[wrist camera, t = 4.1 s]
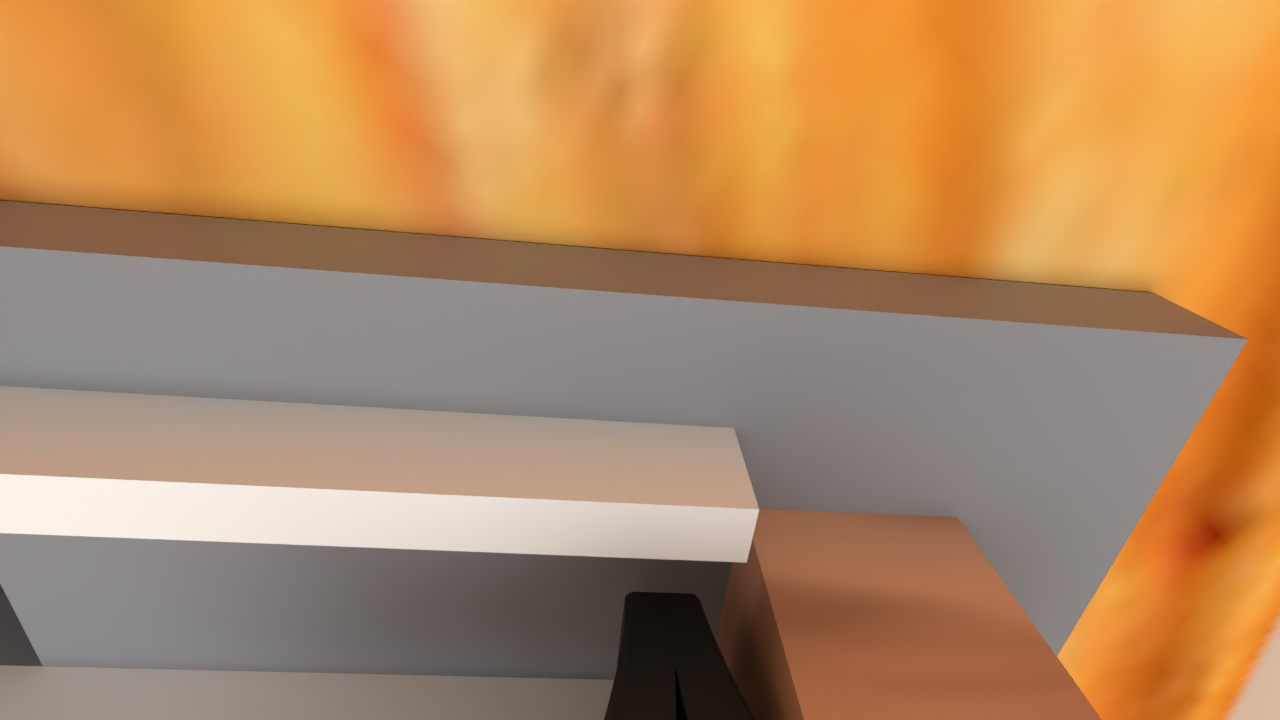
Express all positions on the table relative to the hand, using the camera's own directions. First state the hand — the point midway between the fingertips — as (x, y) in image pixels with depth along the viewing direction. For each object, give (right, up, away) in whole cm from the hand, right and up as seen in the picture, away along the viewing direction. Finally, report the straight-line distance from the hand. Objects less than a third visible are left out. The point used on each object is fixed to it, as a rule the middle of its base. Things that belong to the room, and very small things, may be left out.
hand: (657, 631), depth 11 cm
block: (+3, 0, +1) cm, 4 cm away
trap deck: (-5, +2, +2) cm, 6 cm away
